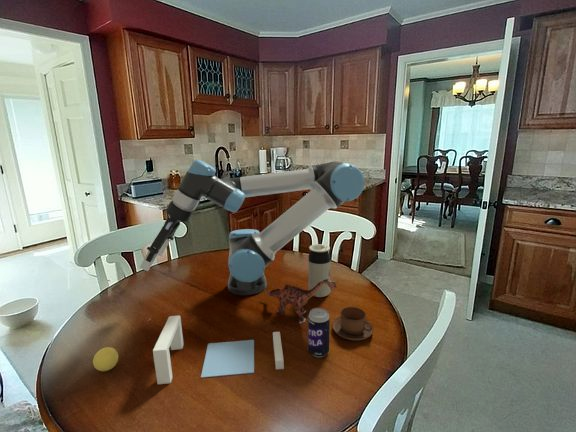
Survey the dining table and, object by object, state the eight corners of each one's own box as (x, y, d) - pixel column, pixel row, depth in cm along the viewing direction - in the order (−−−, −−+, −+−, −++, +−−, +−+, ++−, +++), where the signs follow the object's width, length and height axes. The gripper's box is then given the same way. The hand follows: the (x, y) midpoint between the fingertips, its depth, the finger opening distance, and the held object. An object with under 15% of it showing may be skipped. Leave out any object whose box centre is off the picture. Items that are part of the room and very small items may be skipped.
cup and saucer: (374, 324, 97) (375, 306, 96) (371, 348, 86) (372, 328, 85) (336, 317, 101) (336, 300, 100) (328, 339, 90) (328, 321, 89)
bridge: (183, 344, 89) (180, 315, 87) (170, 383, 75) (166, 349, 73) (172, 345, 89) (169, 316, 86) (157, 384, 75) (152, 350, 72)
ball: (123, 359, 83) (120, 341, 82) (114, 375, 78) (110, 355, 76) (101, 361, 83) (97, 343, 81) (90, 377, 77) (86, 357, 76)
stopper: (279, 339, 90) (279, 331, 90) (283, 368, 79) (283, 360, 78) (273, 339, 90) (272, 332, 90) (275, 369, 79) (275, 360, 78)
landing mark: (253, 340, 90) (253, 339, 90) (254, 372, 78) (254, 372, 78) (208, 344, 89) (208, 343, 89) (200, 377, 76) (200, 377, 76)
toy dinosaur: (331, 333, 93) (332, 287, 89) (251, 307, 108) (249, 267, 104) (342, 319, 100) (343, 276, 96) (265, 297, 115) (263, 259, 111)
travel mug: (305, 295, 115) (305, 249, 111) (312, 286, 122) (312, 242, 118) (326, 299, 112) (327, 252, 108) (332, 289, 119) (332, 245, 115)
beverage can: (306, 346, 87) (306, 307, 84) (326, 344, 88) (327, 306, 85) (309, 360, 82) (309, 319, 79) (331, 358, 82) (331, 318, 79)
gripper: (180, 194, 110) (152, 244, 113) (159, 206, 86) (124, 270, 89) (199, 205, 112) (171, 254, 114) (184, 220, 87) (149, 282, 90)
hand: (151, 261), depth 101 cm, fingers open, 13 cm apart
